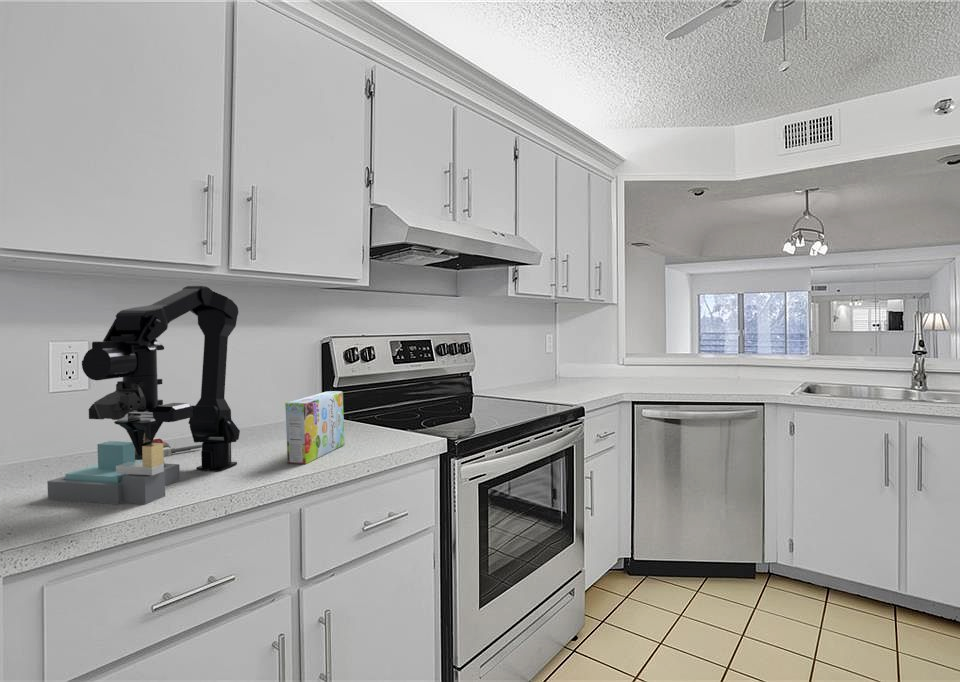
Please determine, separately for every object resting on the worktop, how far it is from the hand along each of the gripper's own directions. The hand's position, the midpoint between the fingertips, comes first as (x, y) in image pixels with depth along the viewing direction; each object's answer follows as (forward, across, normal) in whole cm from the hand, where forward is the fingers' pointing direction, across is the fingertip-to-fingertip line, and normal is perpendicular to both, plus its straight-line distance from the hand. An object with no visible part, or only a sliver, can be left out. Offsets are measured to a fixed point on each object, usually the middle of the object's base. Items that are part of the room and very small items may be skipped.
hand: (142, 455), depth 108 cm
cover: (+6, -10, +4) cm, 13 cm away
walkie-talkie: (+9, -26, +32) cm, 42 cm away
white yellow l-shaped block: (+3, -1, 0) cm, 3 cm away
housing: (+8, -8, +4) cm, 12 cm away
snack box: (+9, +15, +41) cm, 44 cm away
